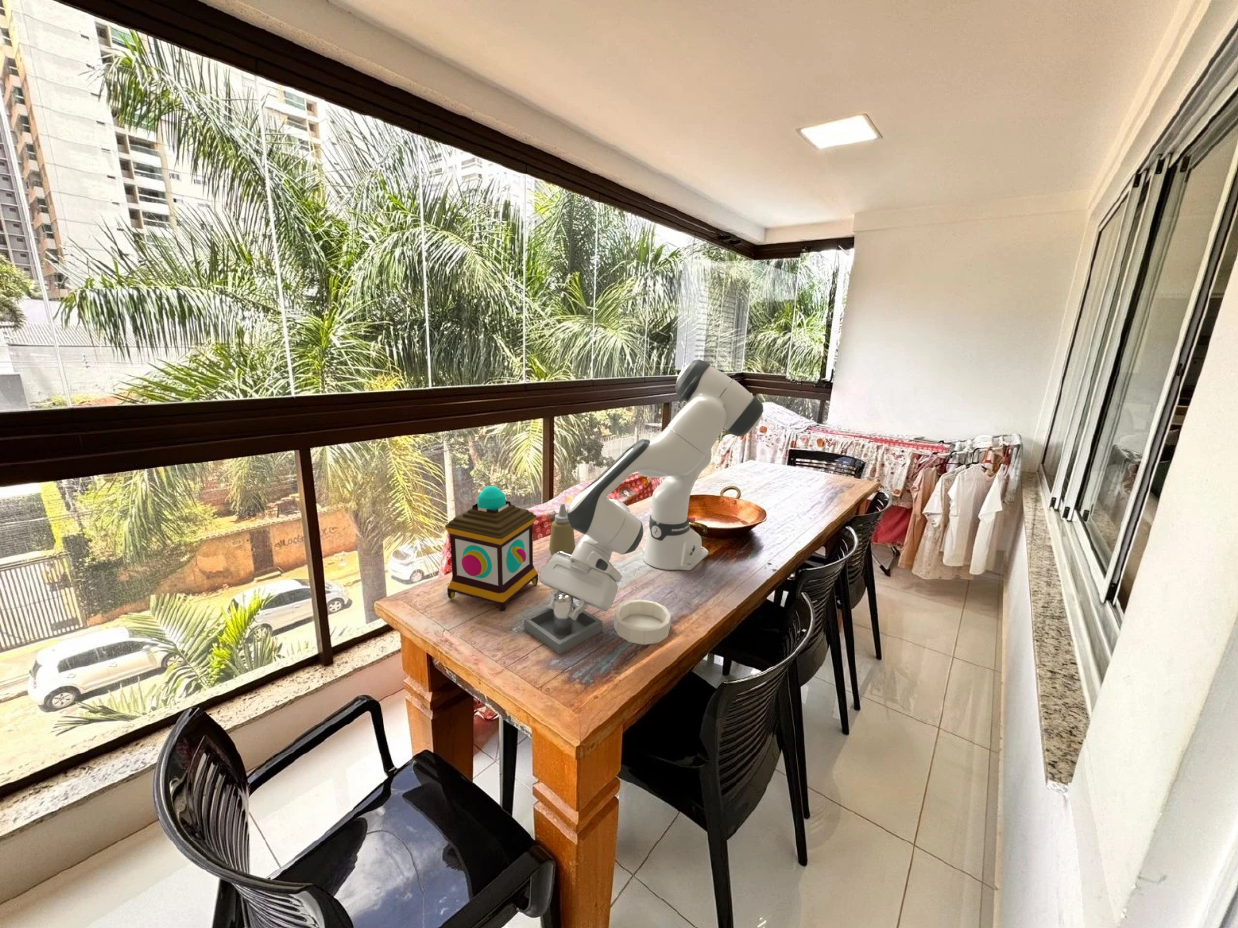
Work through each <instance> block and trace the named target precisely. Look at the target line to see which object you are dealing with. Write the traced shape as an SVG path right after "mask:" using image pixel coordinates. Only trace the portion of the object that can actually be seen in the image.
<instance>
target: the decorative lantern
mask: <svg viewBox="0 0 1238 928" xmlns="http://www.w3.org/2000/svg"><path fill="white" fill-rule="evenodd" d="M536 520H537V514H535V513H534V512H532V511H530V510H529V509H526V508H522V507H518V506H516V505H515V504H512V503H511V501H507V499H506V495H505V493H504V492H503V491H502V490H501V489H500V488H499V487H497V486H495V485H489V486H486V487H485V488H483V489H482V490H481V492H479V494H478V497H477V503H476V504H472V508H469V509H468V510H466V511H465V512H462V513H461V514H459V515H457V516H455V517H453V519H452V520H451V519H450V521H448V522H447V524H445V525H444V528H445V530H446V531H447V533H448V534H449V540H450V559H451V561H450V562H451V573H452V574H451V575H452V576H451V580H450V582H449V584H448V586H447V588H446V589H447V593H446V594H447V597H448V599H449V600H454V599H455V596H456V594H460V595H463V596H466V597H471V598H475V599H479V600H482V601H485V602H490V603H494V604H496V605H497V606H498V610H499V611H500V612H505V611H506V607H507V603H508V602H509V601H510V600H511V599H512V598H514V597H515V596H516V595H517V594H518V593H519V592H520V591H522V590H523V589H524V588H525V587H527V586H528V585H529V584H530V583H532V585H533V586H536V585H537V584H538V582H539V572H538V571H537V569H536V568H535V566H534V546H533V545H534V540H533V539H534V537H533V535H534V534H533V532H534V531H533V529H534V523H535V521H536Z"/></svg>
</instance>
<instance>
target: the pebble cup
mask: <svg viewBox="0 0 1238 928" xmlns="http://www.w3.org/2000/svg"><path fill="white" fill-rule="evenodd" d="M573 604H574V598H573V597H572V596H570V595H567V594H563V593H562V594H560V595H558V596H556V597H555V598H554V632H555V633H556V634H558V635H568V634H570V633H571V632H572V631H573V620H572V619H570V618H569V617H568V614H569V612H570V610H573Z"/></svg>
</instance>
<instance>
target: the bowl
mask: <svg viewBox="0 0 1238 928" xmlns="http://www.w3.org/2000/svg"><path fill="white" fill-rule="evenodd" d="M671 615H672V614H671V613H670V611H669V610H668V608H667V607H666V606H664V605H663V604H661V603H658V602H656V601H654V600H646V599H633V600H627V601H624V602H623V603H621V604H620V605H618V606H617V607H616V610H615V612H614V617H613V618H614V620H613V621H614V622H613V627H614V629H615V632H616V634H617V636H618V637H620V638H622V639H623V640H626V641H627V642H628V643H632V644H633V643H634V644H638V645H651V644H652V645H653V644H657V643H658V644H659V643H660V642H661V641H664V640H665V639H666V638H668V637H669V634H670V629H671V620H672V618H671V617H672V616H671Z"/></svg>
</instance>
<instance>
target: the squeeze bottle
mask: <svg viewBox="0 0 1238 928" xmlns="http://www.w3.org/2000/svg"><path fill="white" fill-rule="evenodd" d="M565 505H566V504H565V503H561V504H560V507H559V510H558V513H556V514H555V515H554V521H553V522H551V528H550V537H549V548H548V551H549V552H550V555H551V557H552V556H553V554H555V553H557V552H560V551H563V552H565V553H567V554H571V555H572V553H573V551H574V549H575V548H576V542H575V541H576V540H575V530H574V529H572V528H571V526H570V523H569V521H568V517H567V509H566V506H565Z"/></svg>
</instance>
